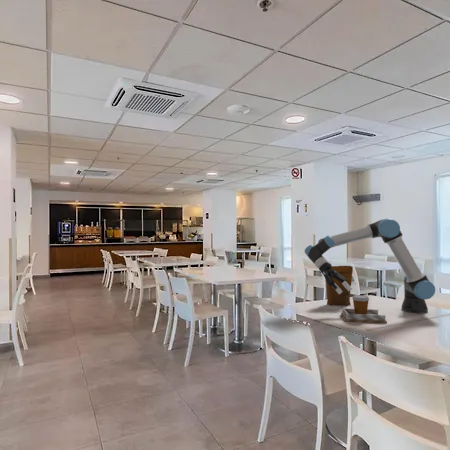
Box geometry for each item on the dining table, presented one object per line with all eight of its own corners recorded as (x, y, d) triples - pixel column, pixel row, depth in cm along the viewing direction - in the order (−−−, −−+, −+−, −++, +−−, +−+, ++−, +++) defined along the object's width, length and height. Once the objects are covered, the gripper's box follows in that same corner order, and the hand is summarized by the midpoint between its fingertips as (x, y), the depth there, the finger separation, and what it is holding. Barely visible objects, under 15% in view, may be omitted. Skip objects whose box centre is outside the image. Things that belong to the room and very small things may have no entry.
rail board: (378, 316, 210) (378, 309, 210) (386, 323, 193) (386, 315, 193) (340, 314, 213) (340, 307, 214) (346, 321, 197) (346, 314, 197)
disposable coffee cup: (371, 318, 198) (370, 298, 199) (353, 318, 200) (353, 297, 200) (367, 315, 208) (367, 295, 208) (351, 314, 209) (350, 294, 210)
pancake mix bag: (354, 306, 237) (354, 266, 238) (325, 305, 240) (325, 265, 241) (351, 304, 244) (351, 265, 245) (324, 303, 247) (324, 264, 247)
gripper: (328, 267, 232) (350, 292, 221) (309, 270, 214) (332, 298, 203) (335, 260, 228) (358, 285, 217) (317, 262, 210) (340, 290, 199)
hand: (345, 291), depth 210 cm, fingers open, 13 cm apart
